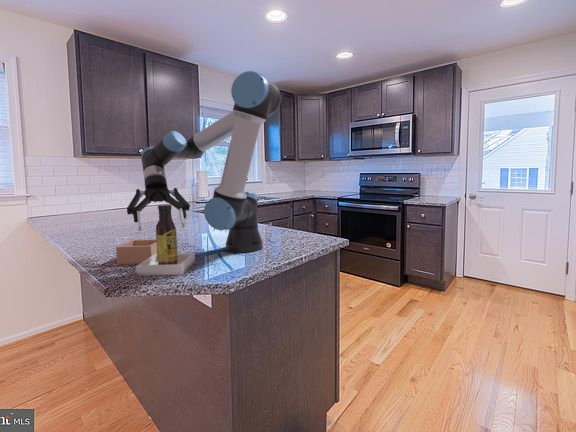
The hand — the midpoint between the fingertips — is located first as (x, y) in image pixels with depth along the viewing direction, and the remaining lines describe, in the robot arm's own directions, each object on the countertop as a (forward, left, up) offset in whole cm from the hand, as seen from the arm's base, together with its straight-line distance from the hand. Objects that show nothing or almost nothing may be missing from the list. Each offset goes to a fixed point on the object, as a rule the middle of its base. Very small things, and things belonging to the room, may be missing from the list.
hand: (162, 227), depth 105 cm
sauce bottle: (-3, +4, -12) cm, 13 cm away
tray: (-2, +4, -13) cm, 14 cm away
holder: (+12, -9, -13) cm, 20 cm away
